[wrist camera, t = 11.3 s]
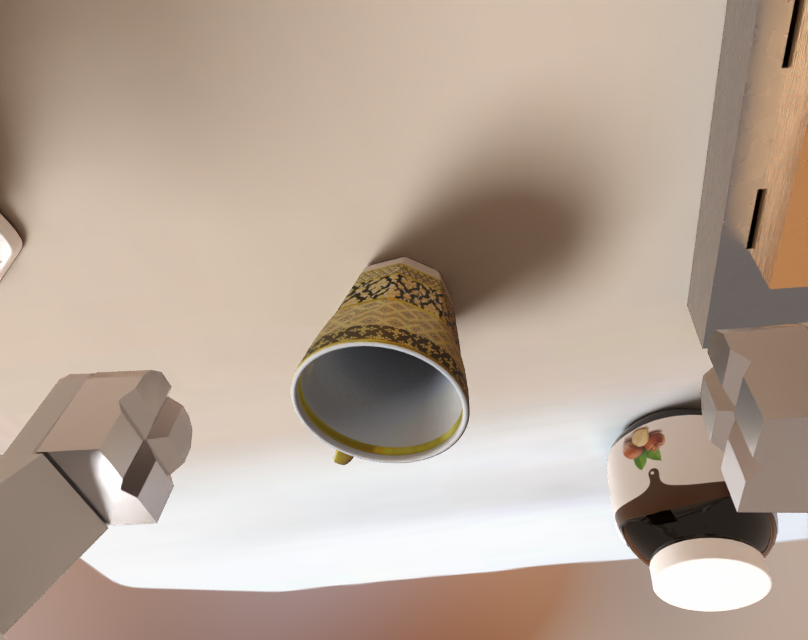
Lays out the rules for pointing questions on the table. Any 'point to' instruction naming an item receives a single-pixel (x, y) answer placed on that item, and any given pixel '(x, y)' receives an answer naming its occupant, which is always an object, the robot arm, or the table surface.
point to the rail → (741, 175)
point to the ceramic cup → (386, 369)
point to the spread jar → (687, 515)
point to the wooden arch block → (787, 174)
